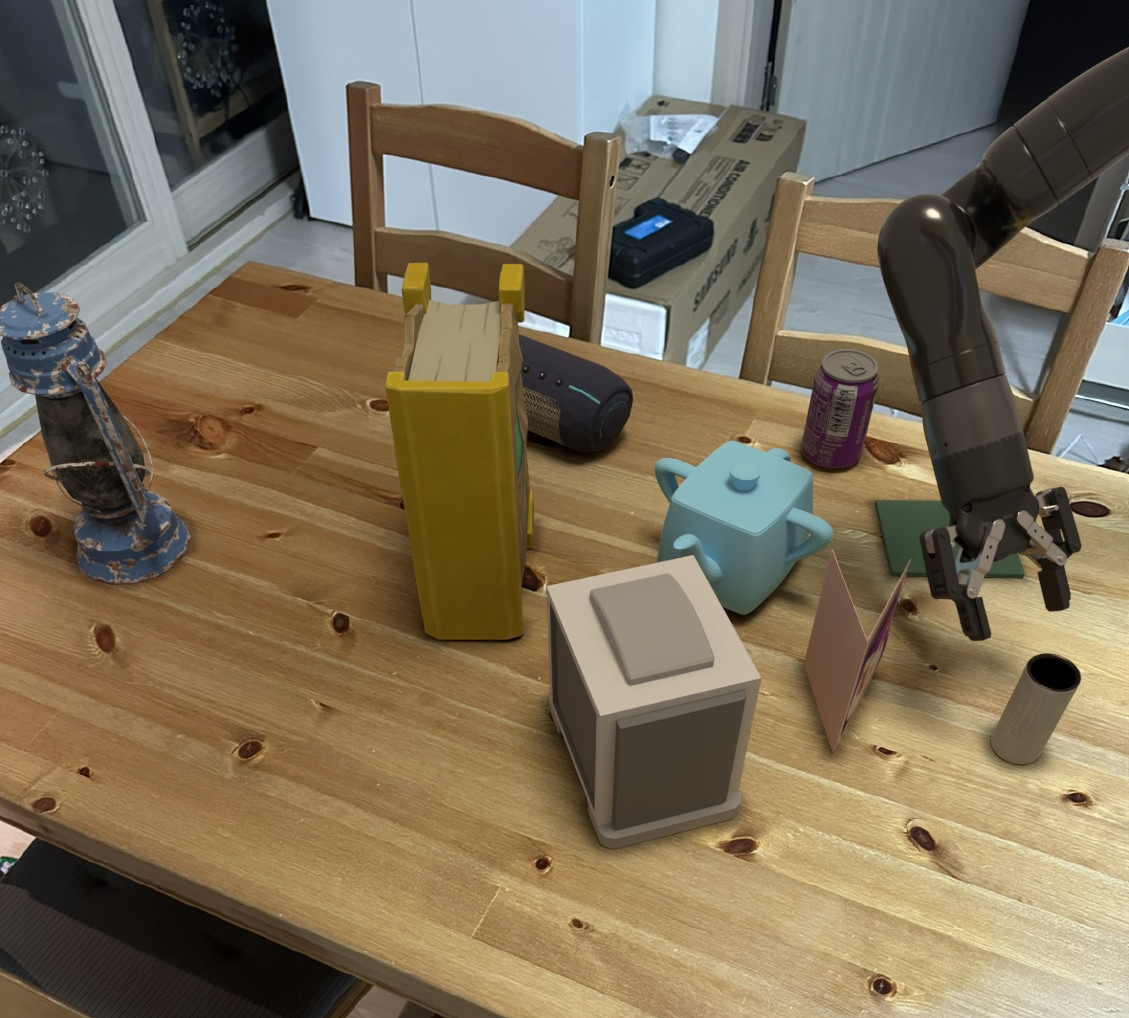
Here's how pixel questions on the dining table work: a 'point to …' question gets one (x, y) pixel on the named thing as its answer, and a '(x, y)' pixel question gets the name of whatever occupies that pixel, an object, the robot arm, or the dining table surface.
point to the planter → (1035, 708)
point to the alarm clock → (650, 698)
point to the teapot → (740, 520)
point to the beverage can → (840, 408)
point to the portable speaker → (572, 397)
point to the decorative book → (464, 456)
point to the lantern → (89, 442)
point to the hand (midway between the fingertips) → (1020, 624)
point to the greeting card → (843, 651)
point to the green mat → (903, 532)
